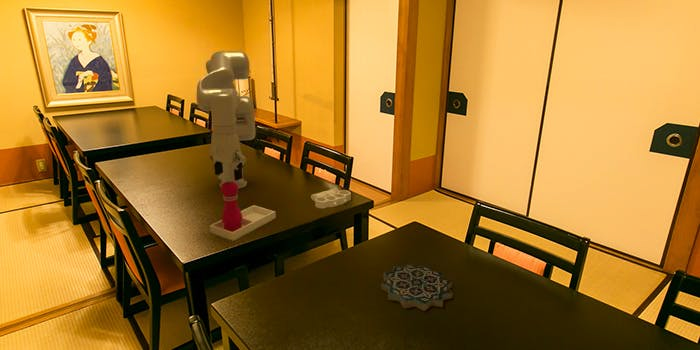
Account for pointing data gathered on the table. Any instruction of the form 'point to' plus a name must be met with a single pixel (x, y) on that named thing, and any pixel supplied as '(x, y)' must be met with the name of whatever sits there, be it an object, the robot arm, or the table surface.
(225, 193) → the pepper mill
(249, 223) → the cell tray
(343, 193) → the knuckle duster
